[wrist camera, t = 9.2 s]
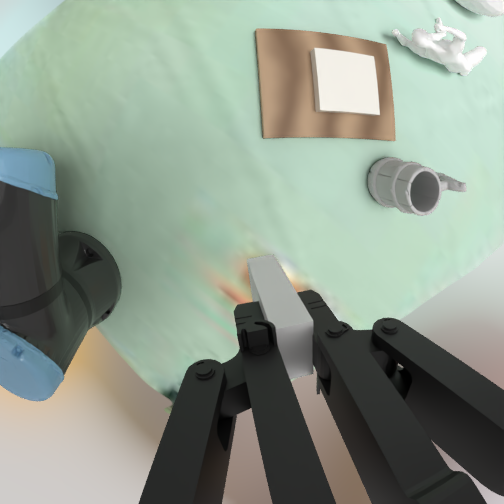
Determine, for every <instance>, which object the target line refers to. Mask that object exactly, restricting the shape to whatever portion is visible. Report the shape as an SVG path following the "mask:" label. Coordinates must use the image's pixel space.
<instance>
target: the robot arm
mask: <svg viewBox="0 0 504 504" xmlns="http://www.w3.org/2000/svg"><path fill="white" fill-rule="evenodd" d="M57 200H58V195H57V194H56V182H55V163H54V161H53V159H52V157H51V156H50V155H49V154H48V153H46V152H44V151H40V150H34V149H24V148H7V147H0V385H1V386H2V387H3V388H5V389H6V390H8V391H10V392H11V393H13V394H15V395H17V396H19V397H21V398H24V399H27V400H31V401H44V400H46V399H48V398H50V397H51V396H52V395H53V394H54V392H55V390H56V389H57V388H58V386H59V384H60V383H61V382H62V381H63V380H64V374H65V372H66V370H67V368H68V367H69V365H70V363H71V361H72V359H73V357H74V355H75V353H76V351H77V349H78V348H79V346H80V344H81V342H82V341H83V339H84V337H85V335H86V333H87V331H88V330H89V329H90V328H92V327H94V326H95V325H97V324H99V323H100V322H102V321H104V320H105V319H106V318H107V317H108V316H109V315H110V314H111V313H112V311H113V310H114V308H115V306H116V304H117V303H118V300H119V298H120V294H121V277H120V273H119V270H118V267H117V264H116V262H115V260H114V259H113V257H112V255H111V254H110V253H109V251H108V250H107V249H106V248H105V247H104V246H103V245H102V244H101V243H100V242H99V241H97V240H96V239H94V238H93V237H91V236H89V235H87V234H84V233H81V232H73V231H71V232H64V233H61V234H59V235H58V226H57ZM247 264H248V271H249V278H250V285H251V292H252V298H253V302H250V303H245V304H239V305H237V306H236V308H235V310H234V316H235V322H236V327H237V336H238V341H239V346H240V349H239V352H238V353H237V355H236V356H235V357H234V358H232V359H231V360H229V361H227V362H225V363H222V364H221V363H220V362H218V361H216V360H211V359H206V360H200V361H198V362H195V363H194V364H192V365H191V366H189V368H188V370H187V371H186V373H185V376H184V379H183V381H182V384H181V387H180V389H179V392H178V395H177V398H176V400H175V403H174V406H173V408H172V411H171V414H170V416H169V419H168V422H167V425H166V427H165V430H164V433H163V436H162V439H161V441H160V444H159V447H158V450H157V453H156V455H155V458H154V461H153V464H152V466H151V470H150V472H149V475H148V478H147V481H146V484H145V487H144V489H143V492H142V495H141V498H140V501H139V504H222V499H223V494H224V488H225V482H226V476H227V471H228V465H229V459H230V453H231V447H232V442H233V436H234V430H235V423H236V418H237V414H239V413H241V412H243V411H245V410H248V409H250V408H252V412H253V418H254V422H255V427H256V432H257V437H258V441H259V446H260V450H261V455H262V460H263V464H264V469H265V472H266V477H267V482H268V486H269V490H270V495H271V499H272V503H273V504H336V502H335V499H334V497H333V494H332V492H331V489H330V486H329V484H328V481H327V478H326V476H325V473H324V470H323V468H322V465H321V462H320V459H319V457H318V454H317V451H316V449H315V446H314V443H313V441H312V438H311V435H310V433H309V430H308V427H307V425H306V422H305V419H304V416H303V414H302V411H301V408H300V405H299V403H298V400H297V397H296V395H295V392H294V389H293V387H292V384H291V381H290V379H294V378H298V377H302V376H306V375H310V374H313V365H314V367H315V369H316V371H317V394H320V389H321V391H322V394H323V396H324V398H325V400H326V402H327V405H328V407H329V409H330V411H331V413H332V416H333V418H334V420H335V422H336V425H337V427H338V429H339V431H340V433H341V436H342V438H343V440H344V442H345V445H346V447H347V449H348V451H349V453H350V455H351V458H352V460H353V462H354V465H355V467H356V469H357V471H358V474H359V476H360V478H361V480H362V483H363V485H364V487H365V489H366V491H367V494H368V496H369V498H370V500H371V503H372V504H487V503H486V501H485V500H484V498H483V497H482V495H481V493H480V492H479V490H478V488H477V487H476V485H475V484H474V482H473V481H472V479H471V478H470V477H469V476H468V475H467V474H465V473H464V472H460V471H453V470H451V469H450V468H449V467H448V466H447V464H446V463H445V461H444V460H443V458H442V456H441V455H440V453H439V452H438V450H437V449H436V447H435V446H434V444H433V443H432V441H433V442H434V443H435V444H437V445H438V446H439V447H440V448H441V449H442V450H443V451H444V452H446V453H447V454H448V455H449V456H450V457H451V458H452V459H454V460H455V461H456V462H457V463H458V464H459V465H460V466H462V467H463V468H464V469H465V470H466V471H467V472H468V473H470V474H471V475H472V476H473V477H474V478H476V479H477V480H478V481H479V482H480V483H481V484H483V485H484V486H485V487H487V488H488V489H490V490H491V491H493V492H495V493H497V494H499V495H501V496H504V390H503V389H501V388H500V387H498V386H497V385H496V384H494V383H493V382H491V381H490V380H488V379H487V378H486V377H484V376H483V375H481V374H479V373H478V372H477V371H475V370H474V369H472V368H471V367H469V366H468V365H466V364H465V363H464V362H462V361H461V360H459V359H457V358H456V357H454V356H453V355H452V354H450V353H449V352H447V351H446V350H444V349H442V348H441V347H440V346H438V345H436V344H435V343H433V342H432V341H431V340H429V339H427V338H426V337H424V336H423V335H421V334H419V333H418V332H416V331H415V330H414V329H412V328H411V327H409V326H408V325H406V324H404V323H403V322H401V321H400V320H397V319H394V318H382V319H379V320H377V321H376V322H375V323H374V325H373V329H372V330H353V329H352V327H351V326H350V325H348V324H347V323H344V322H342V321H338V320H337V318H336V317H335V315H334V314H333V313H332V311H331V310H330V308H329V307H328V306H327V304H326V303H325V302H324V301H323V299H322V297H321V296H320V295H319V294H318V293H316V292H314V291H313V290H308V291H303V292H298V293H297V292H296V291H295V289H294V287H293V286H292V284H291V282H290V281H289V279H288V277H287V276H286V274H285V272H284V271H283V269H282V267H281V266H280V264H279V262H278V261H277V259H276V257H275V256H274V254H272V255H267V256H261V257H255V258H249V259H247ZM398 363H399V364H401V365H402V366H403V368H401V367H400V366H398ZM431 440H432V441H431Z"/></svg>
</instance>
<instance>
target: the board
mask: <svg viewBox="0 0 504 504" xmlns="http://www.w3.org/2000/svg"><path fill="white" fill-rule="evenodd" d="M255 37H256V49H257V62H258V75H259V88H260V102H261V117H262V132H263V138H288V137H331V138H358V139H375V140H388V141H395V118H394V104H393V92H392V83H391V74H390V66H389V59H388V52H387V46H386V44H382V43H378V42H373V41H369V40H364V39H359V38H354V37H348V36H342V35H336V34H329V33H321V32H312V31H301V30H287V29H256V31H255ZM314 48H323V49H331V50H339V51H346V52H352V53H358V54H364V55H369V56H374V60H375V68H376V76H377V85H378V96H379V109H380V115H376V116H370V115H360V114H348V113H332V112H316V110H315V96H314V84H313V73H312V63H311V54H310V51H311V50H313V49H314Z"/></svg>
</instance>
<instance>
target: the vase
mask: <svg viewBox="0 0 504 504" xmlns="http://www.w3.org/2000/svg"><path fill="white" fill-rule="evenodd" d="M455 1H456V2H457V3H459V4H460V5H461V6H463V7H464V8H466V9H468V10H470V11H472V12H474V13H477V14H480V15H484V16H489V17H495V16H501V15H503V14H504V0H455Z"/></svg>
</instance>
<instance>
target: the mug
mask: <svg viewBox="0 0 504 504" xmlns="http://www.w3.org/2000/svg"><path fill="white" fill-rule="evenodd" d="M370 171H371V173H370V172H369V174H368V188H369V191H370V193H371V194H372V196H373V197H374V198H375V200H376V201H377V202H378V203H380V204H381V205H382V206H386V207H390V208H393V207H396V208H398V209H399V210H400V211H401V212H403V213H414V214H417V215H420V216H423V215H429V214H430V213H432V212H433V211H434V210H435V209H436V207H437V206H438V204H439V201H438V200H440V198H441V192H442V191H444V190H453V191H458V192H465V191H466V184H465V183H462V182H459V181H457V180H455V179H453V178H451V177H449V176H446V175H445V174H442V173H437V172H435V171H434V170H432V169H431V168H428V167H424V166H421V164H419V163H415V162H403V160H401V159H398V158H394V157H387V158H384V159H382V160H379V161H377V162H376V163H375V164H374V165H373V166H372V167H371V169H370Z"/></svg>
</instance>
